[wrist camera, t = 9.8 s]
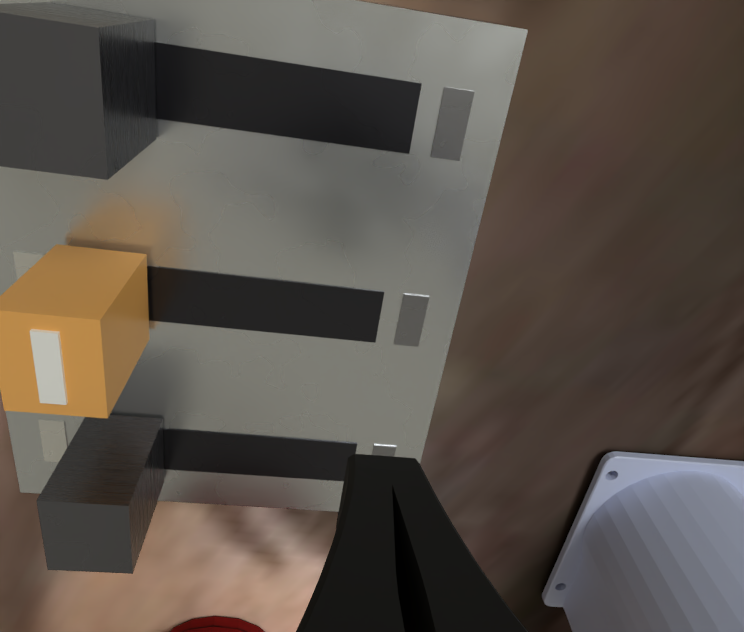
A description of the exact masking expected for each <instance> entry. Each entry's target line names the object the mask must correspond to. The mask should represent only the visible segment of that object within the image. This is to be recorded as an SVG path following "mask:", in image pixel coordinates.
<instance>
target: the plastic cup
mask: <svg viewBox="0 0 744 632" xmlns="http://www.w3.org/2000/svg"><path fill="white" fill-rule="evenodd" d="M170 632H264V631H263V630H262V629H261V628H260V627H258V626H256V625H253V624H251V623H248V622H246V621H243V620H241V619H236V618H227V617H218V616H213V617H206V618H198V619H192V620H190V621H187V622H185V623H183V624H181V625H178V626H176V627H174V628H173V629H172V630H171V631H170Z"/></svg>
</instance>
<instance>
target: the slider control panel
mask: <svg viewBox="0 0 744 632" xmlns="http://www.w3.org/2000/svg"><path fill="white" fill-rule="evenodd" d="M527 32H528V30H526V29H521V28H515V27H510V26H505V25H499V24H493V23H487V22H481V21H475V20H470V19H464V18H458V17H452V16H446V15H440V14H434V13H429V12H423V11H417V10H411V9H405V8H399V7H393V6H388V5H382V4H376V3H370V2H364V1H358V0H0V296H1V295H2V294H3V293H4V292H5V291H6V290H7V289H8V288H9V287H10V286H12V285H13V284H14V283H15V282H16V281H17V280H18V279H19V278H20V277H21V276H22V275H24V274H25V273H26V272H27V271H28V270H29V269H30V268H31V267H32V266H33V265H34V264H36V263H37V262H38V261H39V260H40V259H41V258H42V257H43V256H44V255H45V254H46V253H48V252H49V251H50V250H51V249H52V248H53V247H54V246H55V245H56V244H59V245H68V246H77V247H86V248H95V249H104V250H113V251H122V252H131V253H140V254H147V281H148V311H149V341H148V343H147V345H146V347H145V348H144V350H143V352H142V354H141V356H140V358H139V360H138V362H137V364H136V366H135V368H134V369H133V371H132V373H131V375H130V377H129V379H128V381H127V383H126V385H125V387H124V389H123V390H122V392H121V394H120V396H119V398H118V400H117V402H116V404H115V406H114V408H113V410H112V411H111V413H110V415H109V417H108V418H95V417H82V416H69V415H56V414H43V413H30V412H17V411H6V416H7V422H8V427H9V433H10V438H11V444H12V449H13V455H14V460H15V466H16V471H17V477H18V482H19V488H20V492H23V493H40V496H39V497H38V499H37V507H38V513H39V519H40V525H41V531H42V537H43V543H44V549H45V555H46V561H47V567H48V570H67V571H89V572H111V573H133V571H134V568H135V565H136V563H137V560H138V557H139V554H140V551H141V548H142V545H143V542H144V539H145V536H146V533H147V530H148V527H149V525H150V522H151V519H152V516H153V513H154V510H155V507H156V504H157V501H171V502H188V503H204V504H221V505H237V506H254V507H270V508H287V509H303V510H320V511H336V512H339V506H340V501H341V495H342V489H343V483H344V477H345V471H346V466H347V460H348V457H350V456H351V455H353V454H365V455H379V456H393V457H406V458H415V459H416V460H417V461H418V462H419V463H420V461H421V457H422V453H423V449H424V445H425V441H426V437H427V433H428V429H429V425H430V421H431V417H432V413H433V409H434V405H435V401H436V397H437V393H438V389H439V385H440V381H441V377H442V373H443V369H444V365H445V361H446V357H447V353H448V349H449V345H450V341H451V337H452V333H453V329H454V325H455V321H456V317H457V313H458V309H459V305H460V301H461V297H462V293H463V289H464V285H465V280H466V276H467V272H468V268H469V264H470V260H471V256H472V252H473V248H474V244H475V240H476V236H477V232H478V228H479V224H480V220H481V216H482V212H483V208H484V204H485V200H486V196H487V192H488V188H489V184H490V180H491V176H492V172H493V168H494V164H495V160H496V156H497V152H498V148H499V144H500V140H501V136H502V132H503V128H504V124H505V120H506V116H507V112H508V108H509V104H510V100H511V96H512V92H513V88H514V84H515V80H516V76H517V72H518V68H519V64H520V60H521V56H522V52H523V48H524V44H525V40H526V36H527Z"/></svg>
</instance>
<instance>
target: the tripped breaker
mask: <svg viewBox="0 0 744 632" xmlns="http://www.w3.org/2000/svg"><path fill="white" fill-rule="evenodd" d="M148 341H149V311H148V281H147V254H140V253H131V252H122V251H113V250H104V249H95V248H86V247H77V246H68V245H59V244H56V245H55V246H54V247H53V248H52V249H51V250H50V251H49V252H48V253H46V254H45V255H44V256H43V257H42V258H41V259H40V260H39V261H38V262H37V263H36V264H34V265H33V266H32V267H31V268H30V269H29V270H28V271H27V272H26V273H25V274H24V275H22V276H21V277H20V278H19V279H18V280H17V281H16V282H15V283H14V284H13V285H12V286H10V287H9V288H8V289H7V290H6V291H5V292H4V293H3V294H2V295H1V296H0V390H1V395H2V401H3V406H4V411H17V412H30V413H43V414H56V415H69V416H82V417H95V418H108V417H109V415H110V413H111V411H112V410H113V408H114V406H115V404H116V402H117V400H118V398H119V396H120V394H121V392H122V390H123V389H124V387H125V385H126V383H127V381H128V379H129V377H130V375H131V373H132V371H133V369H134V368H135V366H136V364H137V362H138V360H139V358H140V356H141V354H142V352H143V350H144V348H145V347H146V345H147V343H148Z"/></svg>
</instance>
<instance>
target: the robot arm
mask: <svg viewBox="0 0 744 632" xmlns="http://www.w3.org/2000/svg"><path fill="white" fill-rule="evenodd" d="M610 471H612V472H610ZM608 472H610V473H608ZM542 598H543V601H544V603H545V605H547V606H551V607H563V608H564V611H565V613H566V616H567V619H568V621H569V624H570V627H571V629H572V632H744V461H734V460H721V459H708V458H695V457H683V456H670V455H657V454H644V453H631V452H619V451H615V452H609V453H607V454H606V455H604V456H603V458H602V459H601V461H600V463H599V466H598V468H597V470H596V472H595V475H594V477H593V479H592V481H591V484H590V486H589V488H588V491H587V493H586V495H585V497H584V500H583V502H582V504H581V506H580V509H579V511H578V513H577V516H576V518H575V520H574V522H573V525H572V527H571V529H570V531H569V534H568V536H567V538H566V541H565V543H564V545H563V547H562V550H561V552H560V554H559V556H558V559H557V561H556V563H555V566H554V568H553V570H552V572H551V575H550V577H549V579H548V581H547V584H546V586H545V588H544V591H543V593H542ZM296 632H528V631H527V630H526V628H525V627H524V626H523V625H522V624H521V622H520V621H519V620H518V619H517V617H516V616H515V615H514V614H513V612H512V611H511V610H510V608H509V607H508V606H507V604H506V603H505V602H504V600H503V599H502V598H501V596H500V595H499V594H498V592H497V591H496V589H495V588H494V587H493V585H492V584H491V582H490V581H489V579H488V578H487V577H486V575H485V574H484V572H483V571H482V570H481V568H480V567H479V565H478V564H477V562H476V561H475V559H474V558H473V556H472V555H471V553H470V551H469V550H468V548H467V547H466V545H465V543H464V542H463V540H462V539H461V537H460V535H459V534H458V532H457V531H456V529H455V527H454V526H453V524H452V522H451V521H450V519H449V517H448V516H447V514H446V512H445V510H444V509H443V507H442V505H441V503H440V502H439V500H438V498H437V496H436V494H435V493H434V491H433V489H432V487H431V485H430V483H429V481H428V479H427V477H426V475H425V474H424V472H423V470H422V468H421V466H420V463H419V462H418V461H417V460H416V459H415V458H406V457H393V456H379V455H365V454H353V455H351V456H350V457H348V460H347V466H346V471H345V477H344V483H343V489H342V495H341V501H340V506H339V512H338V518H337V526H336V533H335V536H334V540H333V543H332V546H331V548H330V551H329V554H328V556H327V559H326V562H325V565H324V567H323V570H322V573H321V575H320V578H319V581H318V583H317V586H316V588H315V590H314V593H313V595H312V598H311V600H310V602H309V604H308V607H307V609H306V611H305V613H304V616H303V618H302V620H301V622H300V624H299V626H298V629H297V631H296Z"/></svg>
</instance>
